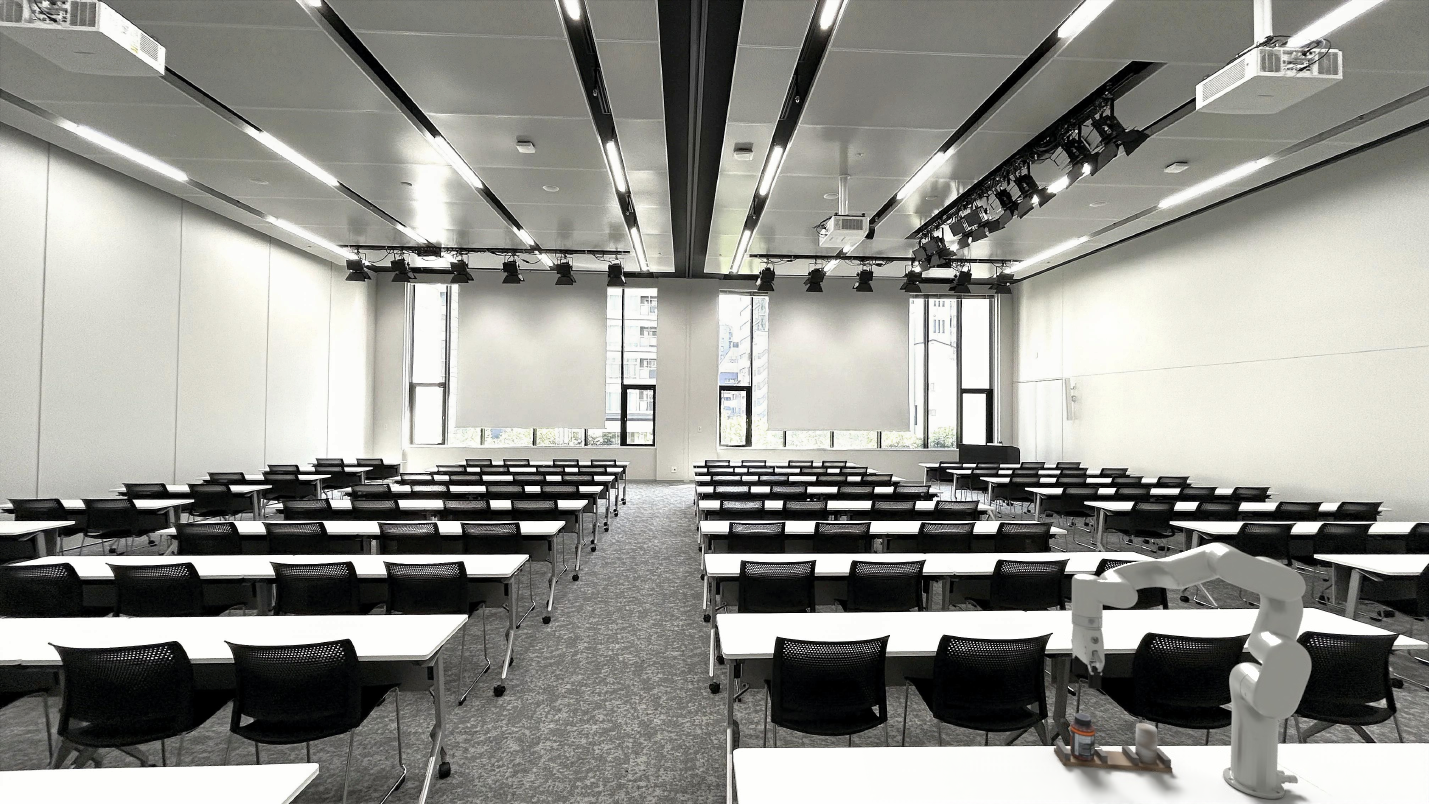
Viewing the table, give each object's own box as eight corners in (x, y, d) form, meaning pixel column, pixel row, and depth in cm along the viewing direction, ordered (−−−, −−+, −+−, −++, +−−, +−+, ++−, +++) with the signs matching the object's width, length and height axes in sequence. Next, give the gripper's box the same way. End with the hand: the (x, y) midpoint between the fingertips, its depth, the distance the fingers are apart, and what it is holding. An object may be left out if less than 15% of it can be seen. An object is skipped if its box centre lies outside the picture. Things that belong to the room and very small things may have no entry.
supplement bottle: (1070, 747, 191) (1071, 708, 190) (1094, 753, 188) (1095, 714, 187) (1069, 757, 186) (1070, 717, 185) (1094, 764, 183) (1094, 723, 182)
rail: (1158, 758, 188) (1158, 722, 188) (1172, 772, 181) (1173, 735, 181) (1053, 751, 191) (1054, 716, 191) (1063, 765, 184) (1064, 729, 184)
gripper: (1116, 631, 177) (1116, 695, 178) (1086, 609, 194) (1086, 667, 195) (1086, 630, 178) (1086, 694, 178) (1060, 609, 195) (1059, 666, 196)
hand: (1086, 680), depth 187 cm, fingers open, 9 cm apart
